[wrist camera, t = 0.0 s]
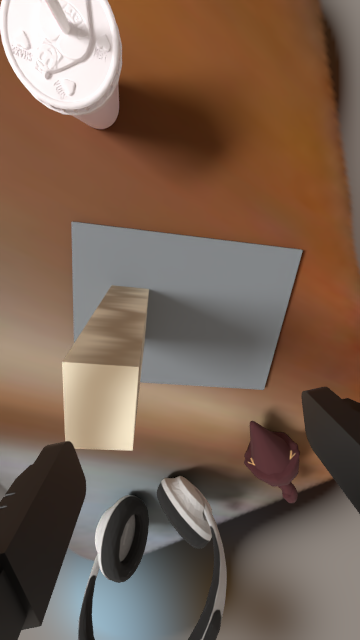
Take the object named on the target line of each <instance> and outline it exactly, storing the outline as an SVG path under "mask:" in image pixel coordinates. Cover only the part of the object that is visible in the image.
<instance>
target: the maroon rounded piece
mask: <svg viewBox="0 0 360 640" xmlns="http://www.w3.org/2000/svg"><path fill="white" fill-rule="evenodd" d="M250 438H251V441H250V443H249V446H248V449H247V451H246V453H245V461H244V464H245V465H246V466H247V467H248V468H249V469H250V470H251V472H252V473H253V474H254V475H255V476H256V477H257V478H259V479H260V480H262V481H264V482H266V483H268V484H269V485H271V486H278V487H279V488H281V489H282V494H283V498H285V499H286V501H288V502H289V503H294V502H295V501H296V500H297V494H298V493H297V490H296V488H295V486H294V485H293V484H292V483H291V481H292V480H293V479H294V478H295V477H296V476H297V474H298V469H299V455H300V452H299V450H298V445H297V444H296V443H295V442H294V441H292V439H291V438H290V437H289V436H288V435H287V434H285V433H283V432H271V431H269V430H267V429H265V428H264V427H262V426H261V425H259V424H258V423H256V422H254V421H251V422H250Z"/></svg>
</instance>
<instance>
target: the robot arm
mask: <svg viewBox="0 0 360 640" xmlns="http://www.w3.org/2000/svg"><path fill="white" fill-rule="evenodd" d="M302 405H303V414H304V423H305V431H306V435H307V439H308V441H309V444H310V446H311V448H312V449H313V451H314V452H315V454H316V455H317V456H318V458H319V459H320V460H321V462H322V463H323V464H324V466H325V467H326V469H327V470H328V471H329V473H330V474H331V475H332V477H333V478H334V479H335V481H336V482H337V484H338V485H339V486H340V488H341V489H342V490H343V492H344V493H345V494H346V496H347V497H348V499H349V500H350V501H351V503H352V504H353V505H354V507H355V508H356V509H357V511H358V512H359V514H360V403H358V402H356V401H353V400H351V399H349V398H346V399H341V398H340V397H339V396H337V395H336V394H335V393H334V392H333V391H331V390H330V389H329V388H328V387H321V388H316V389H312V390H307V391H303V392H302ZM85 494H86V480H85V476H84V473H83V470H82V468H81V465H80V462H79V459H78V457H77V454H76V451H75V448H74V446H73V444H72V443H71V442H70V441H65V442H61V443H56V444H51V445H47V446H45V447H44V448H43V450H42V451H41V453H40V454H39V456H38V458H37V459H36V461H35V462H34V464H33V465H30V466H29V467H28V468H27V469H26V470H25V471H24V472H23V473H22V474H20V475H19V476H18V477H17V478H16V479H15V481H14V482H13V484H12V485H11V487H10V488H9V490H8V491H7V493H6V496H5V497H3V499H2V500H1V502H0V640H18V637H19V635H20V632H21V630H24V629H29V628H34V627H38V626H41V625H42V622H43V619H44V616H45V613H46V610H47V607H48V604H49V601H50V598H51V595H52V592H53V590H54V587H55V583H56V580H57V578H58V575H59V572H60V569H61V566H62V563H63V560H64V557H65V554H66V551H67V549H68V546H69V543H70V540H71V537H72V534H73V531H74V528H75V525H76V522H77V519H78V516H79V513H80V510H81V507H82V505H83V502H84V499H85Z"/></svg>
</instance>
